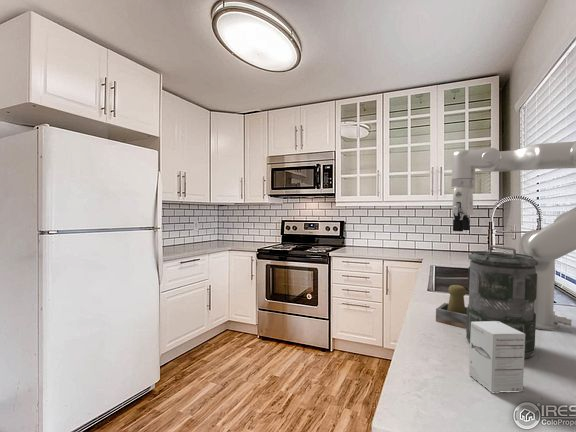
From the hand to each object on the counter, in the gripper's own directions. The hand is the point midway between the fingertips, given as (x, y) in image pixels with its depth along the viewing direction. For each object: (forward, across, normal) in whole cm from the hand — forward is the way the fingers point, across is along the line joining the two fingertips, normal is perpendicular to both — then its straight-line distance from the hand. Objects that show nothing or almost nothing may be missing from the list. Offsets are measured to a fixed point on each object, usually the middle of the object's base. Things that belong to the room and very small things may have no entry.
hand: (461, 230), depth 117 cm
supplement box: (+31, -49, -19) cm, 61 cm away
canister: (+31, -26, -16) cm, 43 cm away
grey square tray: (+30, -12, -2) cm, 33 cm away
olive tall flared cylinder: (+29, -12, -2) cm, 32 cm away
